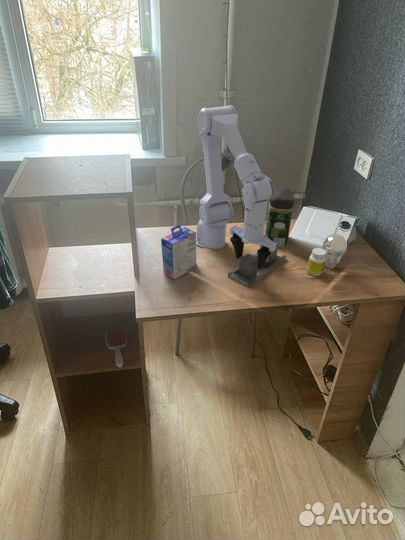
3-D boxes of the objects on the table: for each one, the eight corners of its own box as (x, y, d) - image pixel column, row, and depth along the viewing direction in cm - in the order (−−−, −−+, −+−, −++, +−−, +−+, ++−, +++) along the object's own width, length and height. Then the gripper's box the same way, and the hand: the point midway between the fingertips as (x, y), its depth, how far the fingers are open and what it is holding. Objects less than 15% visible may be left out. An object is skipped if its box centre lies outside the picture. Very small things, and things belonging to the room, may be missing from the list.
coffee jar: (264, 234, 139) (270, 185, 129) (286, 236, 138) (295, 187, 128) (263, 248, 131) (270, 197, 121) (287, 251, 131) (296, 199, 120)
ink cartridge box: (184, 259, 125) (184, 219, 117) (197, 266, 122) (198, 225, 114) (161, 272, 119) (159, 230, 111) (174, 280, 116) (173, 238, 108)
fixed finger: (257, 261, 123) (259, 245, 120) (265, 256, 126) (267, 240, 122) (267, 266, 121) (270, 250, 117) (275, 260, 124) (278, 244, 120)
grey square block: (238, 275, 117) (239, 258, 113) (247, 268, 120) (249, 252, 116) (249, 280, 115) (251, 263, 111) (258, 274, 118) (260, 257, 114)
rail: (227, 279, 117) (228, 273, 116) (264, 252, 129) (265, 246, 128) (249, 290, 113) (250, 284, 111) (285, 261, 125) (286, 256, 124)
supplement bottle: (322, 280, 118) (328, 256, 113) (306, 277, 118) (311, 254, 114) (321, 271, 122) (327, 248, 117) (306, 269, 122) (310, 246, 117)
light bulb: (313, 268, 122) (321, 235, 115) (324, 259, 127) (332, 227, 120) (333, 278, 119) (342, 244, 112) (344, 268, 123) (353, 235, 116)
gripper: (224, 217, 108) (221, 258, 116) (268, 236, 101) (262, 278, 109) (239, 209, 113) (236, 249, 121) (283, 226, 105) (276, 267, 113)
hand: (249, 262), depth 115 cm, fingers open, 7 cm apart
